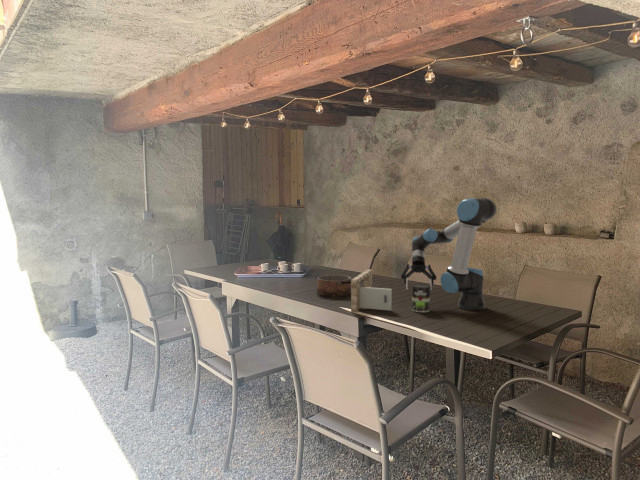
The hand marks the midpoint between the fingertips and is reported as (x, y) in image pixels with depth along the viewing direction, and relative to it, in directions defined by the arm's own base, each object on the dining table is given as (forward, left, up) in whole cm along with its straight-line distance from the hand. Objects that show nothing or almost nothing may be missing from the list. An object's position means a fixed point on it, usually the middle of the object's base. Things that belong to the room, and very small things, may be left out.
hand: (418, 288), depth 266 cm
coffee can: (+5, +2, -11) cm, 13 cm away
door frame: (+3, -33, -11) cm, 35 cm away
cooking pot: (-21, -58, -12) cm, 63 cm away
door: (+13, -24, -11) cm, 29 cm away
